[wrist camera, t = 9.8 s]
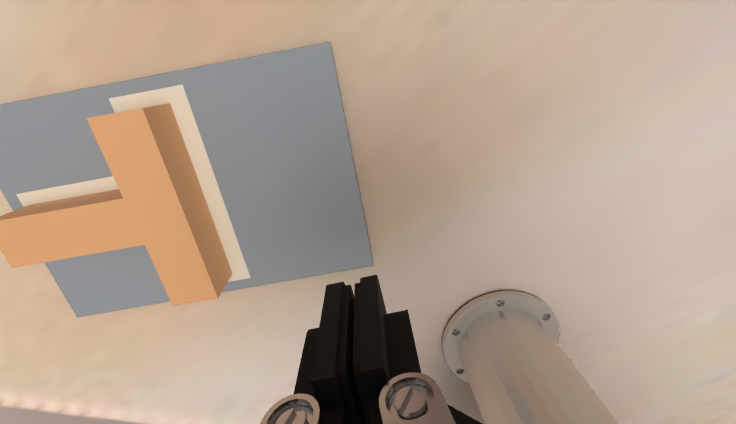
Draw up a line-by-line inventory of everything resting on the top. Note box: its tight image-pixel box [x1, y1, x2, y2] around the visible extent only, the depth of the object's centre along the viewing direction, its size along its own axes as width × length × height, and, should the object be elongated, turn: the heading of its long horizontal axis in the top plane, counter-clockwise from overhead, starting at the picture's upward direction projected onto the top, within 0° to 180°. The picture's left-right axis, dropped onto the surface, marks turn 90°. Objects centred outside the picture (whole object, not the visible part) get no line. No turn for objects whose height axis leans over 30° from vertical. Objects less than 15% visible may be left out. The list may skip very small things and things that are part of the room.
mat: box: [0, 42, 373, 317], centre depth 31 cm, size 20×30×1 cm, turn 100°
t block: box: [0, 103, 233, 306], centre depth 29 cm, size 16×15×4 cm
